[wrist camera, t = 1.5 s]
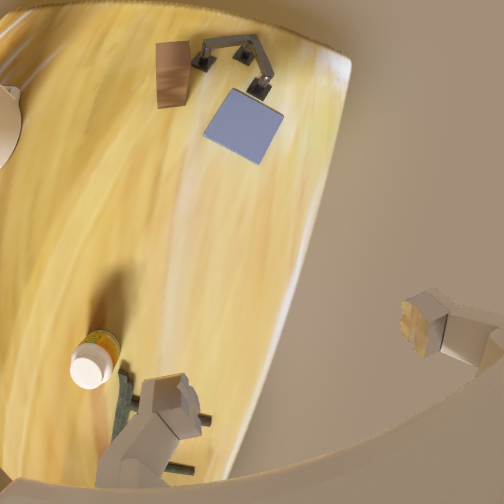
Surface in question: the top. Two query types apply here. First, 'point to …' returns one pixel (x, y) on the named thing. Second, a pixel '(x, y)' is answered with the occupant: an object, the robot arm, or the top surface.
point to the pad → (244, 126)
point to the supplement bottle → (94, 359)
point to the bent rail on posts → (239, 59)
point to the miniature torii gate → (128, 404)
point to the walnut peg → (172, 73)
